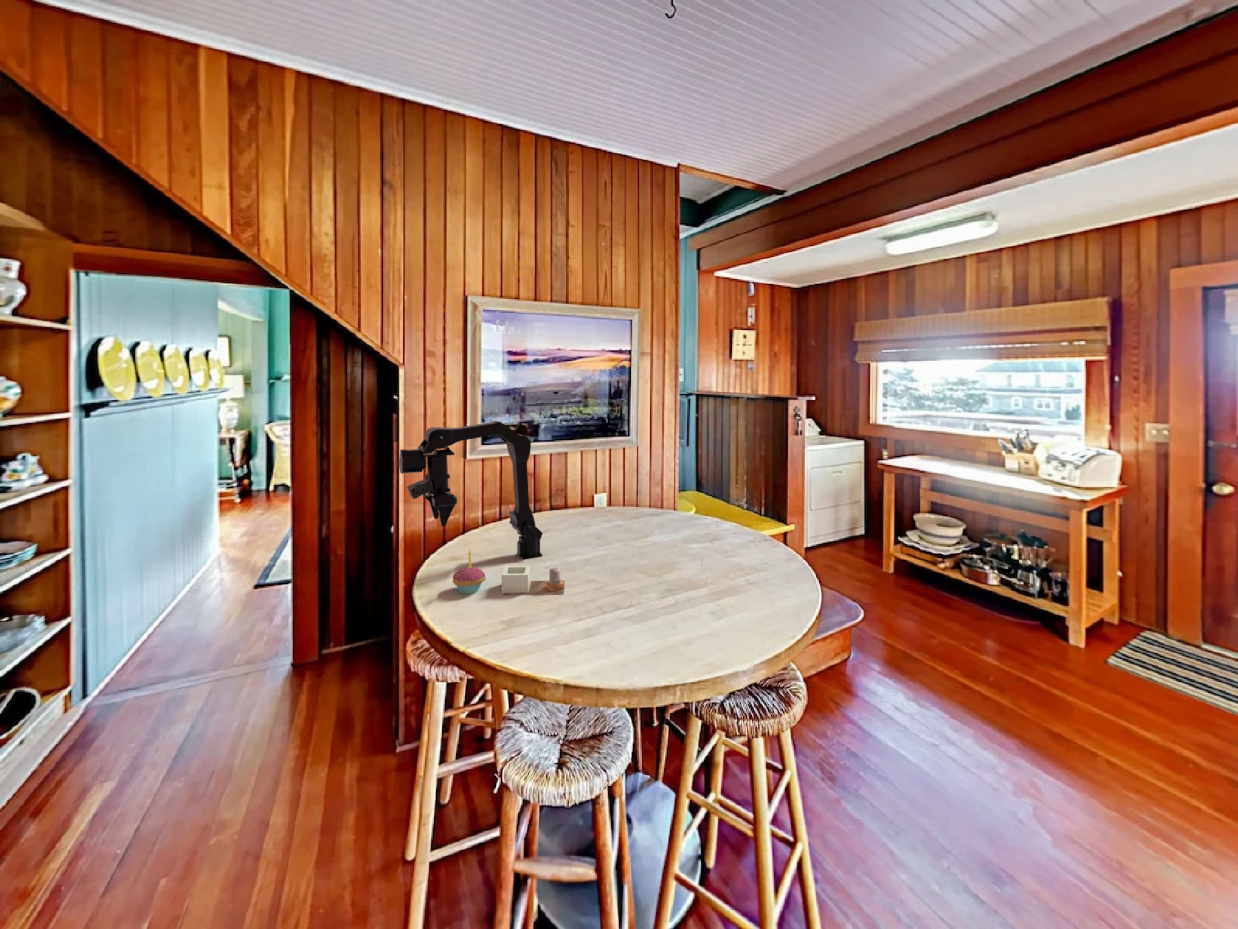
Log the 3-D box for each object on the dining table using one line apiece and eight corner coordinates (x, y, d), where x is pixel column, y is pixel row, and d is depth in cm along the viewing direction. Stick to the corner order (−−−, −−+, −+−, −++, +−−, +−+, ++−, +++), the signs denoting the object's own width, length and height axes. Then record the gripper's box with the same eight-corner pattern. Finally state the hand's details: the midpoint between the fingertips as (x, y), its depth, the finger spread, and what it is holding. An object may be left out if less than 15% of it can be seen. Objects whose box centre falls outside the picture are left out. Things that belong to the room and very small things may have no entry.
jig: (565, 583, 159) (565, 563, 158) (563, 598, 150) (563, 576, 149) (507, 584, 158) (507, 564, 157) (502, 598, 148) (502, 577, 147)
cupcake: (456, 587, 156) (455, 546, 154) (488, 587, 156) (487, 545, 154) (450, 600, 147) (448, 556, 145) (483, 599, 148) (482, 556, 146)
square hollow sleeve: (530, 582, 157) (530, 565, 156) (528, 592, 150) (527, 575, 149) (505, 583, 157) (504, 566, 156) (501, 593, 150) (501, 575, 149)
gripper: (402, 467, 168) (405, 518, 171) (415, 478, 152) (417, 534, 155) (440, 465, 173) (442, 514, 176) (456, 475, 158) (458, 529, 160)
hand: (439, 522), depth 167 cm, fingers open, 9 cm apart
